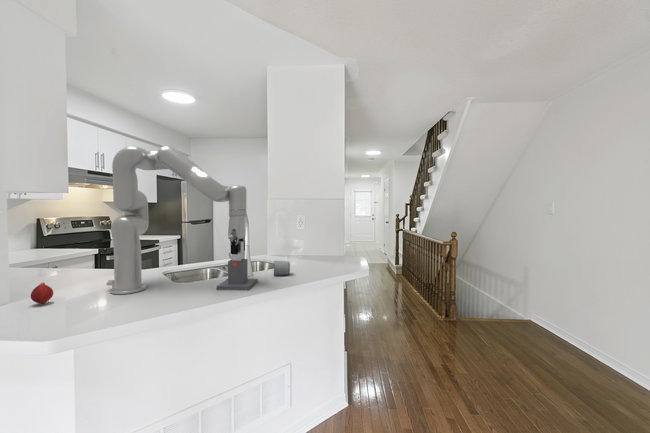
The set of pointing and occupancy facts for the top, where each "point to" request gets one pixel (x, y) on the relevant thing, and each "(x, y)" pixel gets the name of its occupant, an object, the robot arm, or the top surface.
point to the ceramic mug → (281, 268)
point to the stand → (237, 277)
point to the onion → (42, 293)
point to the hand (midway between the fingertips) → (237, 252)
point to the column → (239, 252)
